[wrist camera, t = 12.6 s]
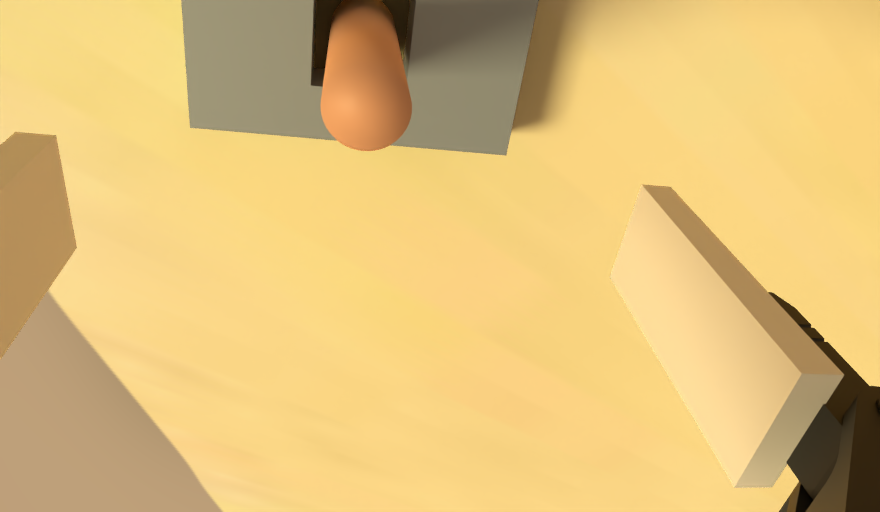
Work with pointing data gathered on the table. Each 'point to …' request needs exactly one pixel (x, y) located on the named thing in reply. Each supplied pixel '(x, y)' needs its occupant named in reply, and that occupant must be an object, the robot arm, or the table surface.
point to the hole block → (300, 84)
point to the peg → (365, 78)
